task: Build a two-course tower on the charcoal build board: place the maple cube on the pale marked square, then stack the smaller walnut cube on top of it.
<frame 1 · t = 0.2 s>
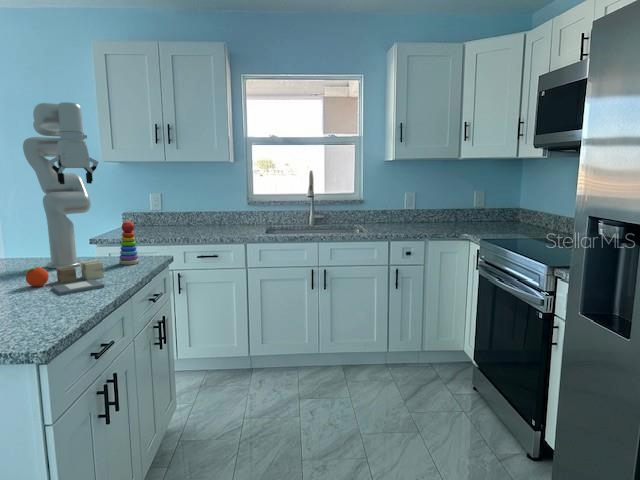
hand: (75, 183, 167), 36 cm above the countertop, tool pointing down, fingers open, 9 cm apart
stacking toy: (129, 263, 195), on the countertop
maple cube: (92, 277, 171), on the countertop
build board: (78, 288, 155), on the countertop
walnut cube: (67, 281, 165), on the countertop
clementine: (36, 287, 157), on the countertop
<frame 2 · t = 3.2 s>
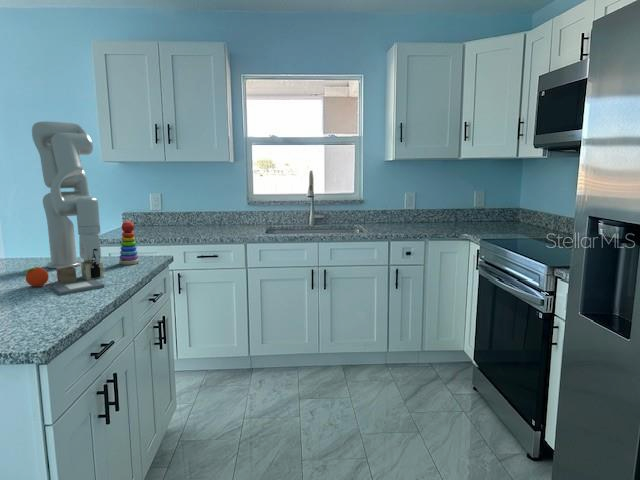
hand: (92, 275, 171), 1 cm above the countertop, tool pointing down, fingers closed on maple cube, 6 cm apart
maple cube: (92, 277, 171), on the countertop, touching gripper
everything else where it was.
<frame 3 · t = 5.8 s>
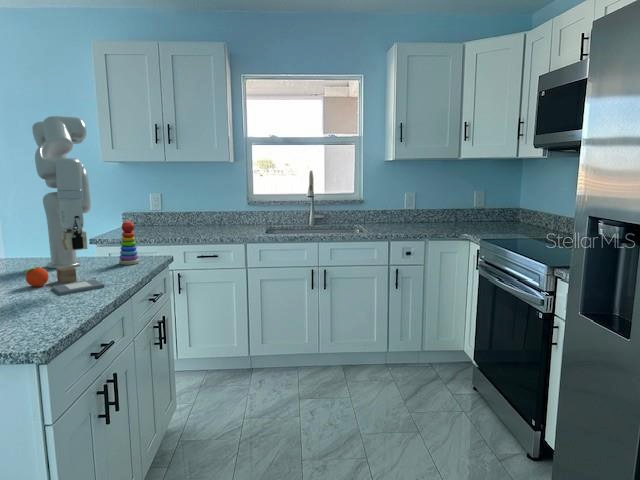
hand: (74, 246, 153), 15 cm above the countertop, tool pointing down, fingers closed on maple cube, 6 cm apart
maple cube: (75, 248, 153), point 14 cm above the countertop, touching gripper
everything else where it was.
when the fingers open (3 cm above the countertop, at t = 8.3 s): maple cube drops 1 cm, resting on build board.
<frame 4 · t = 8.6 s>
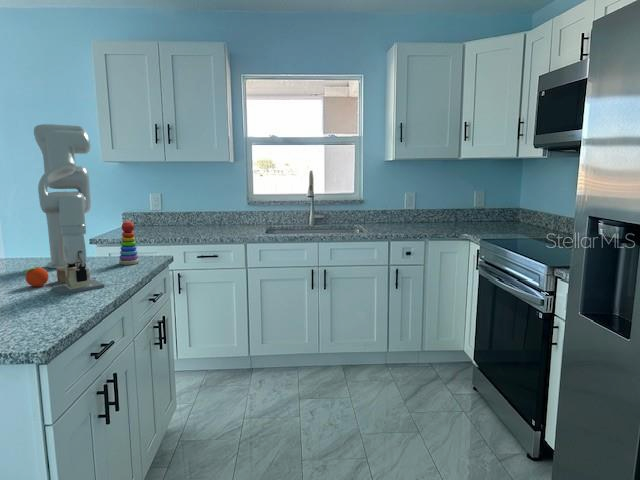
hand: (77, 278, 155), 3 cm above the countertop, tool pointing down, fingers open, 8 cm apart
maple cube: (78, 285, 155), point 1 cm above the countertop, touching build board
everything else where it was.
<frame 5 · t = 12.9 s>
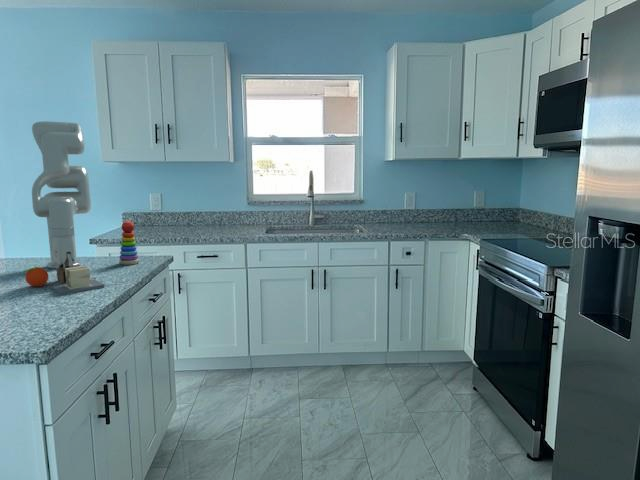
hand: (67, 280, 164), 0 cm above the countertop, tool pointing down, fingers closed on walnut cube, 5 cm apart
walnut cube: (67, 281, 165), on the countertop, touching gripper
everything else where it was.
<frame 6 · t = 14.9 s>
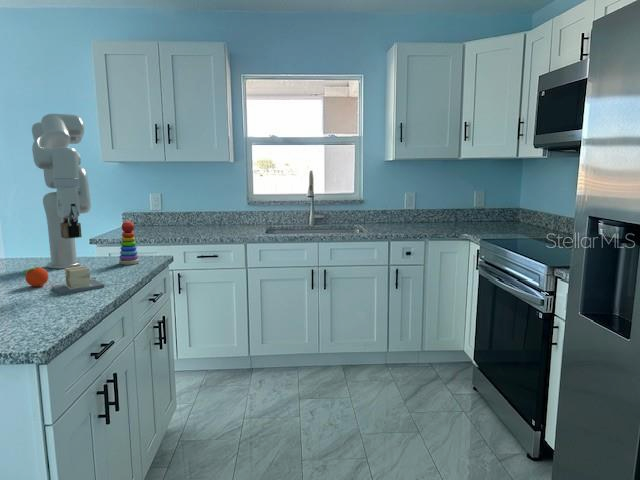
hand: (71, 235, 154), 18 cm above the countertop, tool pointing down, fingers closed on walnut cube, 5 cm apart
walnut cube: (71, 237, 154), point 18 cm above the countertop, touching gripper
everything else where it was.
when the fingers open (8 cm above the countertop, at t = 17.1 s): walnut cube stays where it is, resting on maple cube.
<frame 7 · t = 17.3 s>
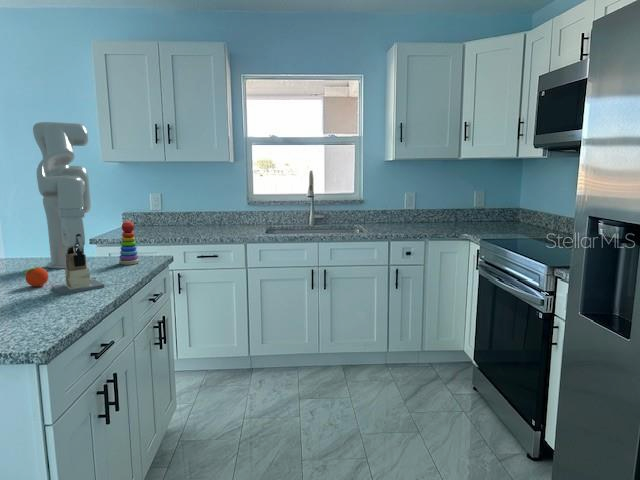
hand: (76, 264, 154), 9 cm above the countertop, tool pointing down, fingers open, 6 cm apart
maple cube: (78, 285, 155), point 1 cm above the countertop, touching build board, walnut cube
walnut cube: (76, 268, 154), point 7 cm above the countertop, touching maple cube
everything else where it was.
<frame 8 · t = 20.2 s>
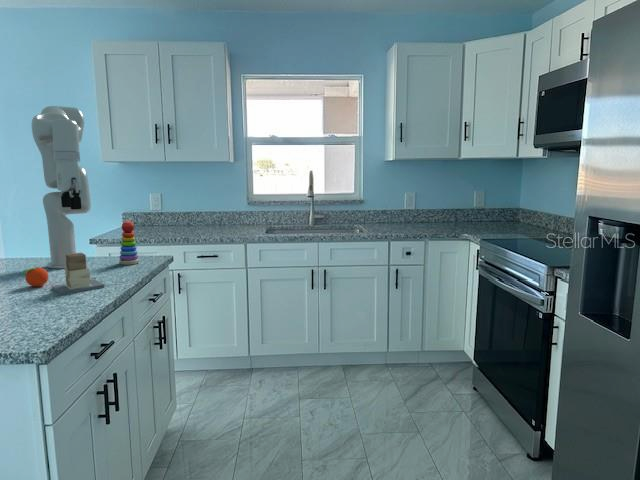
hand: (71, 208, 151), 28 cm above the countertop, tool pointing down, fingers open, 9 cm apart
nothing on the countertop moved.
at the end: maple cube 0.1 cm off-centre on the build board, point 1.1 cm above the build board's base; walnut cube 0.1 cm off-centre on the maple cube, point 6.0 cm above the maple cube's base; walnut cube tilted 0° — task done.
